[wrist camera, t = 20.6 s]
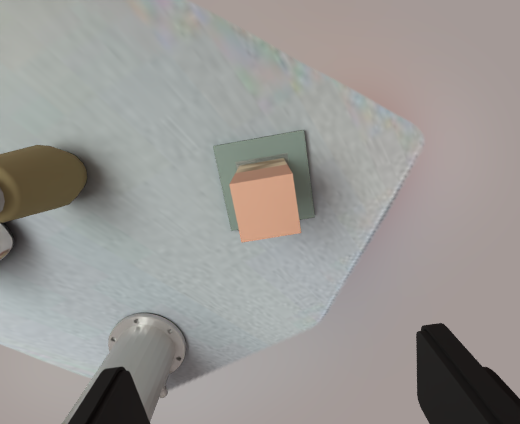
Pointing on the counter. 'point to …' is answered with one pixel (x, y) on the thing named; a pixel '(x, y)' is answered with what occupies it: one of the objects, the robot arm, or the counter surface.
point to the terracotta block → (265, 203)
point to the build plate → (265, 150)
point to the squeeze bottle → (38, 181)
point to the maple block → (261, 165)
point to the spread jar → (5, 240)
